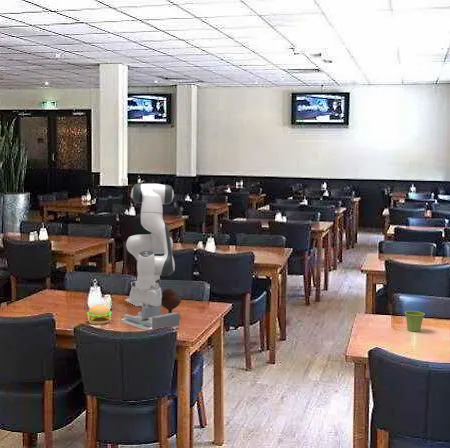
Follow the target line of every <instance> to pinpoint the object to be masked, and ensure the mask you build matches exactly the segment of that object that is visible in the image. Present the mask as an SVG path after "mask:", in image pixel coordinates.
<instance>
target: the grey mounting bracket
mask: <svg viewBox="0 0 450 448" xmlns="http://www.w3.org/2000/svg"><path fill="white" fill-rule="evenodd" d="M137 313H138V314H137V315H131V314H124V318H121V319H120V322H121V323H123V324H125V325H128V326H132V327H135V328H138V329H141V330H144V331H147V330H150V329H156V328H161V327H167V326H170V327H178V326H179V327H180V312H172V313H169V314H168V313H164V314H161V315H159V316H154V317H152V322H150V321H147V320H145V321H141V320H142V311H137Z"/></svg>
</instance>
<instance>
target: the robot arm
mask: <svg viewBox="0 0 450 448" xmlns="http://www.w3.org/2000/svg"><path fill="white" fill-rule="evenodd" d="M130 192H131V194H130V195H131V199H132V201H133V202H134V203H135V204H138V205H140V204H141V208H140V225H141V226H142V227H143V229H145V230H146V231H148V232H149V233H148V234H143V233H142V234H134V235H131V236H128V238H127V240H126V242H125V243H126V244H125V246H126V250H127V252H128V253H130V254H131V255H132V256H133V257H134V258H135V259H136V271H137V277H136V280H134V281H131V282H130V285H131V289H130V292H129V297H128V298H126V299H124V302H126V301H127V302H126V303H128V302H129V303H128V304H130V303H131V304H130V305H132V304H133V305H132V306H134V305H135V307H141V308H142V307H147V306H155V307H156V306H160V305H161V298H162V296H163V295H162V293H163V292H162V287H160V286H161V282H162V281H161V278H160V276H163V277H164V276H165V277H170V276H171V275H173V273H174V272H175V270H176V269H175V267H176V264H175V259H174V255H173V248H174V247H173V246H174V242H173V237H171V233H170V228H169V226H168V224H167V223H165V221H164V219H163V216H164V215H163V205H165V206H166V205H170V204H171V203H172V201H173V199H174V197H175V194H174V189H173V186H171V185H169V184H161V183H135V184H134V185H133V187H132V189H131V191H130ZM161 306H162V305H161Z"/></svg>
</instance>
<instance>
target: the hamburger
mask: <svg viewBox="0 0 450 448" xmlns="http://www.w3.org/2000/svg"><path fill="white" fill-rule="evenodd" d="M86 315H88V316H89V319H88V322H89V323H90V324H92V325H105V324H108V323H109V322H110V319H111V318H110V316H111V315H112V311H111V309H110V308H109V307H108V306H107V305H105V304H96V305H93V306H92V307H90V308H89V310H88V311H87V313H86Z"/></svg>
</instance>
